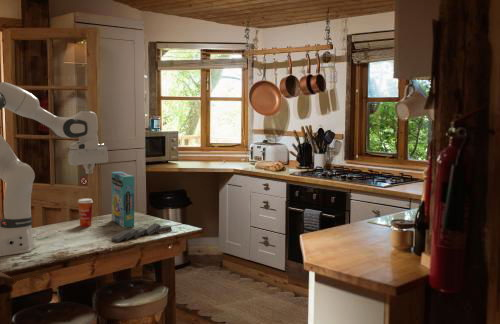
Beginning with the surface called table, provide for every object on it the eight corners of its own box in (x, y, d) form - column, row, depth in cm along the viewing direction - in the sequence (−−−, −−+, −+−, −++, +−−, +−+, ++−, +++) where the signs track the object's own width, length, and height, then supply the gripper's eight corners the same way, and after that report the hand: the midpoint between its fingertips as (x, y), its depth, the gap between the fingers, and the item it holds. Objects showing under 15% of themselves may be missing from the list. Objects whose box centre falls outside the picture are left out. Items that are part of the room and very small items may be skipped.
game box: (111, 220, 306) (110, 171, 303) (122, 219, 310) (121, 171, 307) (123, 227, 289) (122, 176, 286) (134, 226, 292) (134, 175, 289)
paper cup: (75, 226, 290) (74, 200, 288) (84, 223, 297) (83, 197, 296) (87, 227, 287) (87, 201, 286) (96, 224, 294) (96, 199, 293)
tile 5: (157, 228, 277) (171, 226, 282) (153, 227, 280) (166, 224, 286) (157, 231, 277) (171, 229, 283) (153, 230, 281) (166, 227, 286)
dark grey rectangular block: (117, 239, 258) (130, 231, 264) (111, 237, 261) (124, 229, 267) (118, 242, 259) (131, 234, 265) (112, 240, 262) (124, 232, 267)
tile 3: (134, 234, 267) (146, 228, 273) (128, 233, 270) (140, 227, 276) (135, 238, 268) (147, 231, 274) (129, 236, 270) (141, 230, 276)
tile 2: (125, 237, 263) (138, 229, 268) (119, 235, 265) (132, 228, 271) (126, 240, 263) (138, 232, 269) (120, 238, 266) (132, 231, 272)
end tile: (159, 231, 278) (171, 228, 284) (153, 229, 281) (166, 227, 287) (159, 234, 279) (171, 231, 284) (153, 233, 281) (166, 230, 287)
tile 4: (147, 232, 272) (159, 224, 277) (142, 231, 275) (154, 223, 280) (148, 235, 273) (160, 227, 278) (143, 234, 276) (155, 225, 281)
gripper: (103, 143, 274) (103, 170, 275) (66, 145, 258) (66, 174, 260) (110, 143, 270) (111, 172, 271) (73, 146, 254) (74, 175, 256)
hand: (89, 173), depth 266 cm, fingers closed
